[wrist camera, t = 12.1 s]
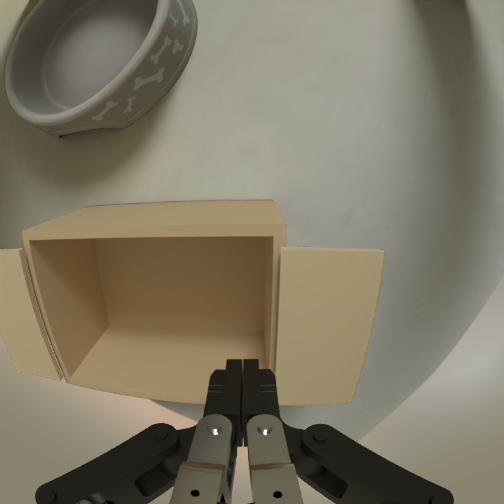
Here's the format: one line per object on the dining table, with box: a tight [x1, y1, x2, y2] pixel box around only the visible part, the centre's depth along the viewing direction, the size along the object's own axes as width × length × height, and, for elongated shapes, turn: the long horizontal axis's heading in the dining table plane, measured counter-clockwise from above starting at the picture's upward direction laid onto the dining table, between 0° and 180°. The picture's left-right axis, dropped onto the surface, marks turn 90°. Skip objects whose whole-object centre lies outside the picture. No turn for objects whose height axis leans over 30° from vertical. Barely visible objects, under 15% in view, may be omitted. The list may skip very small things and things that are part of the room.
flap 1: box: [0, 248, 63, 381], centre depth 15 cm, size 1×10×5 cm
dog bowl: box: [5, 0, 198, 138], centre depth 16 cm, size 17×18×5 cm
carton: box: [22, 200, 286, 404], centre depth 20 cm, size 16×12×9 cm
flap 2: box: [275, 247, 385, 405], centre depth 15 cm, size 1×10×5 cm
